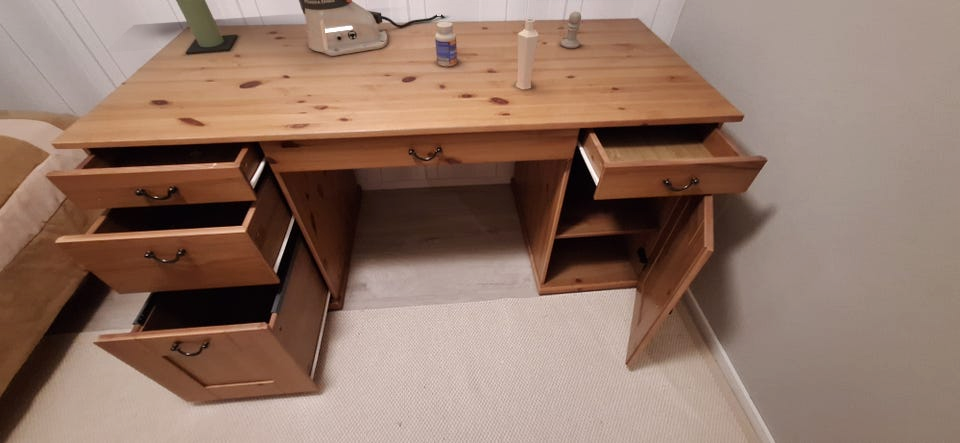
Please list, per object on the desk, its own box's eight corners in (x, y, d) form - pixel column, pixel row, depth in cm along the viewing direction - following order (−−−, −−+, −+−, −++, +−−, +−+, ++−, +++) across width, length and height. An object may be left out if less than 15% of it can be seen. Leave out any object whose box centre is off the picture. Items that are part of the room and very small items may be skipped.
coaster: (237, 36, 113) (236, 34, 113) (229, 51, 106) (228, 48, 105) (197, 39, 112) (196, 37, 111) (186, 54, 104) (185, 52, 104)
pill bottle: (454, 67, 99) (452, 28, 92) (434, 66, 100) (431, 27, 93) (459, 59, 103) (457, 21, 96) (440, 57, 104) (437, 19, 97)
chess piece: (582, 44, 111) (588, 11, 104) (574, 50, 108) (580, 16, 101) (565, 40, 113) (571, 7, 106) (557, 46, 110) (562, 12, 103)
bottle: (226, 37, 111) (195, -29, 99) (221, 46, 107) (188, -22, 95) (202, 39, 110) (168, -28, 98) (196, 48, 106) (160, -21, 94)
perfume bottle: (512, 81, 94) (517, 16, 83) (530, 81, 94) (537, 16, 83) (515, 90, 91) (520, 24, 80) (533, 90, 91) (541, 23, 80)
